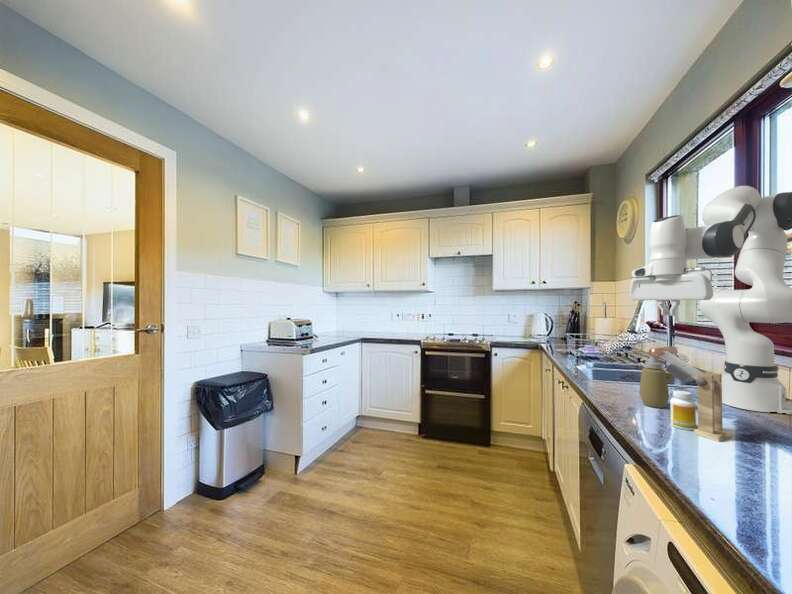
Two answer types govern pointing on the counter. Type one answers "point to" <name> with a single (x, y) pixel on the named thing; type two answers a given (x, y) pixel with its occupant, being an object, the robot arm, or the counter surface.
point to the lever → (676, 364)
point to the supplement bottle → (682, 411)
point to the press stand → (710, 407)
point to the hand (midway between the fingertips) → (668, 315)
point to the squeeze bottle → (654, 384)
